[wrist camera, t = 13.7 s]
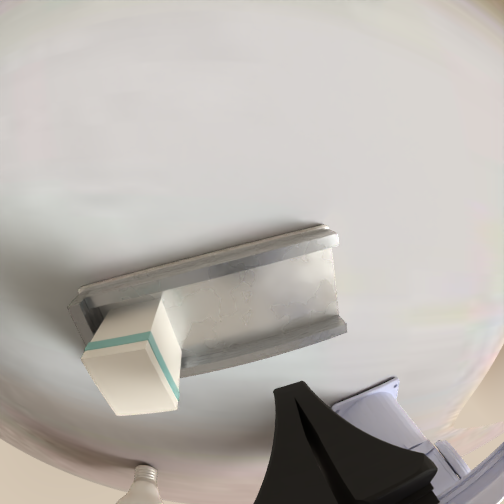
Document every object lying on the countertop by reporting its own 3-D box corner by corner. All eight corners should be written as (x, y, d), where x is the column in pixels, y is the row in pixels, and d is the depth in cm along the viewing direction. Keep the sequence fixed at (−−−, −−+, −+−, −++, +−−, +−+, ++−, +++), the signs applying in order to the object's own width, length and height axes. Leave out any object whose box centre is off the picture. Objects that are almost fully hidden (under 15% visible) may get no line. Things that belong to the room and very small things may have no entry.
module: (182, 352, 19) (178, 410, 14) (133, 361, 19) (116, 416, 13) (161, 297, 18) (145, 347, 12) (109, 309, 18) (79, 358, 12)
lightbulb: (122, 471, 24) (113, 540, 13) (119, 447, 23) (107, 528, 12) (171, 481, 25) (172, 550, 15) (175, 459, 24) (176, 541, 13)
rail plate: (335, 321, 22) (352, 341, 19) (122, 372, 20) (114, 397, 17) (323, 224, 19) (344, 233, 16) (81, 286, 18) (63, 304, 15)
